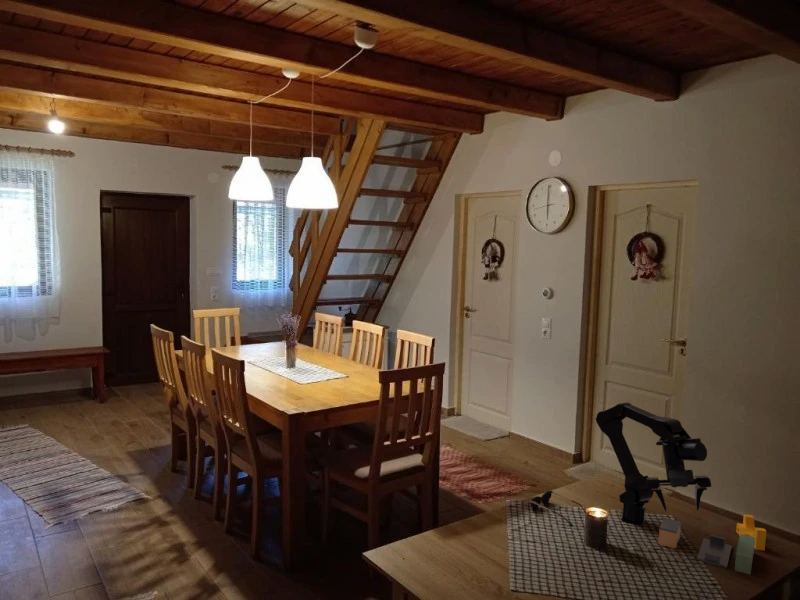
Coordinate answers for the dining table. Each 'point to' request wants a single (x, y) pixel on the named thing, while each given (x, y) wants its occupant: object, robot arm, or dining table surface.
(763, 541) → the pipe clamp
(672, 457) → the robot arm
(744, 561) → the green long block
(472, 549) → the dining table surface
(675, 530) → the tan and grey block
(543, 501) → the sunglasses
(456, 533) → the dining table surface
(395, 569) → the dining table surface
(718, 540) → the side mount
